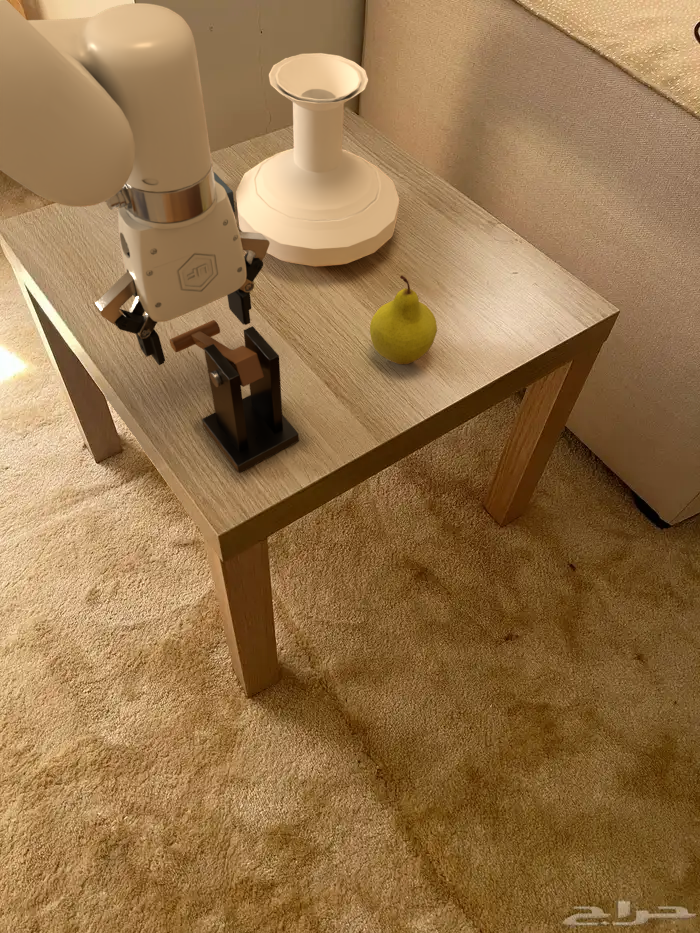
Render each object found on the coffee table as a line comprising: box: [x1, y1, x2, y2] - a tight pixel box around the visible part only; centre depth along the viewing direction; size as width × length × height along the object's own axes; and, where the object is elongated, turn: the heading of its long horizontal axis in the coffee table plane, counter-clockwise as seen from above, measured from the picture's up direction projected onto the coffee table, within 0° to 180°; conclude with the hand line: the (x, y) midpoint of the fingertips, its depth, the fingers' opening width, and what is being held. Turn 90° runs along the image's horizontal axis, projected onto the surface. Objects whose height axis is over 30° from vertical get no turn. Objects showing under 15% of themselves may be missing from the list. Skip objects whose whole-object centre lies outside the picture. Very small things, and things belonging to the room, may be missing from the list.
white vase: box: [235, 52, 400, 268], centre depth 81 cm, size 20×20×19 cm
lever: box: [169, 319, 264, 388], centre depth 66 cm, size 13×5×2 cm, turn 36°
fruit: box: [369, 275, 438, 365], centre depth 73 cm, size 7×7×12 cm
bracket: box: [201, 325, 300, 474], centre depth 66 cm, size 7×7×12 cm
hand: (198, 335), depth 71 cm, fingers open, 9 cm apart
